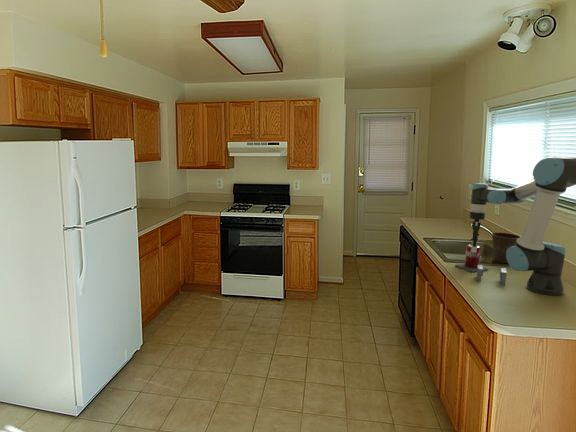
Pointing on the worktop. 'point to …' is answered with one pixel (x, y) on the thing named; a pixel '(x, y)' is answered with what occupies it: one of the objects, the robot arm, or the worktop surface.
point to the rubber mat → (469, 268)
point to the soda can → (472, 257)
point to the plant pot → (503, 245)
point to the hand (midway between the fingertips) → (473, 249)
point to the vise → (502, 274)
